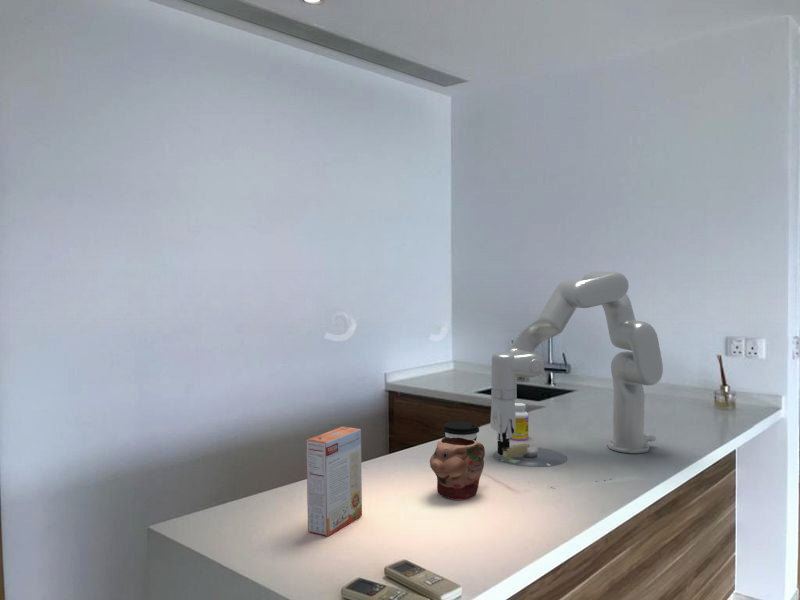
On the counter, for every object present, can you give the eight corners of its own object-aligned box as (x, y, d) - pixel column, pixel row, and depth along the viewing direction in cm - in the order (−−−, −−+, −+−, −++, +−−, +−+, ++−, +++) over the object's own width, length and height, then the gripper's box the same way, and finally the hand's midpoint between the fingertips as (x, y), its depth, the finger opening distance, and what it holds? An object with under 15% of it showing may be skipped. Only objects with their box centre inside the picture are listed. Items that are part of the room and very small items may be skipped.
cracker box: (341, 511, 156) (341, 425, 155) (363, 516, 153) (363, 428, 152) (305, 532, 144) (304, 438, 143) (327, 537, 141) (327, 441, 140)
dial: (540, 447, 213) (540, 443, 213) (582, 466, 193) (582, 461, 193) (480, 454, 205) (480, 449, 205) (517, 474, 185) (517, 469, 185)
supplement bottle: (528, 444, 217) (528, 406, 216) (507, 443, 218) (508, 405, 217) (528, 439, 223) (528, 402, 223) (508, 438, 224) (509, 401, 224)
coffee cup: (482, 461, 197) (482, 422, 197) (474, 472, 187) (475, 430, 186) (447, 458, 201) (447, 419, 200) (438, 468, 191) (438, 427, 190)
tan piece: (530, 452, 202) (530, 441, 202) (540, 455, 198) (540, 444, 198) (497, 458, 195) (497, 446, 195) (507, 462, 191) (507, 450, 191)
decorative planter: (461, 478, 181) (462, 429, 180) (500, 487, 173) (500, 436, 173) (418, 497, 166) (418, 443, 165) (458, 509, 158) (458, 452, 157)
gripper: (484, 390, 203) (483, 448, 204) (500, 399, 189) (500, 461, 189) (507, 389, 205) (506, 447, 205) (525, 398, 190) (524, 460, 191)
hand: (503, 454), depth 197 cm, fingers closed
